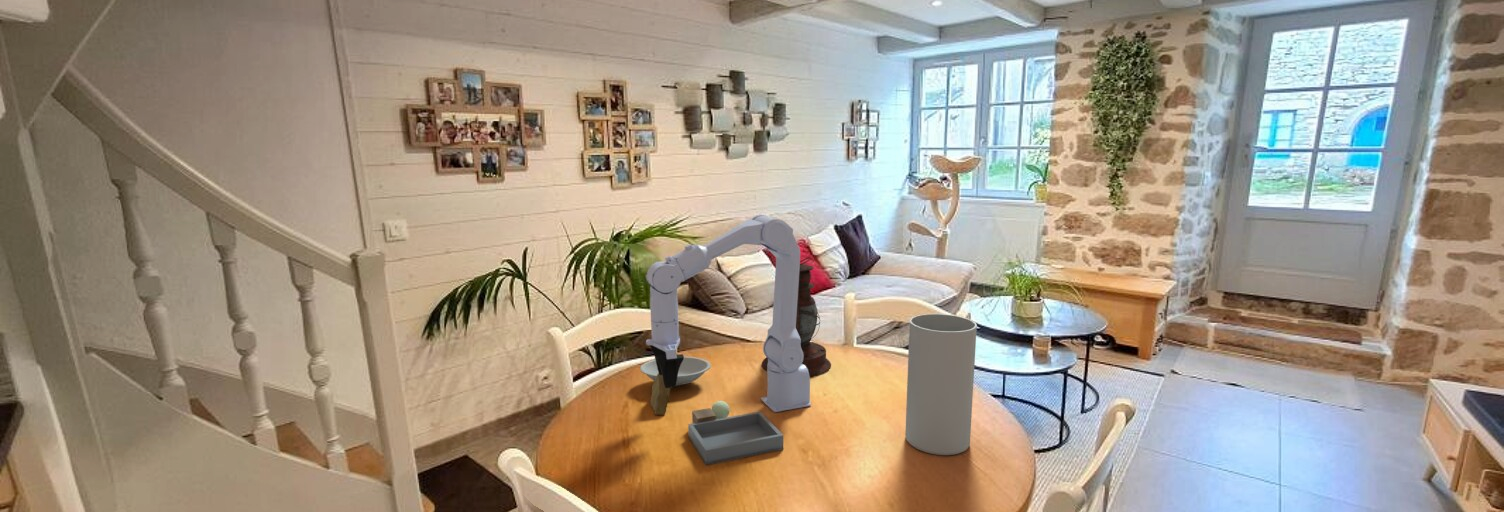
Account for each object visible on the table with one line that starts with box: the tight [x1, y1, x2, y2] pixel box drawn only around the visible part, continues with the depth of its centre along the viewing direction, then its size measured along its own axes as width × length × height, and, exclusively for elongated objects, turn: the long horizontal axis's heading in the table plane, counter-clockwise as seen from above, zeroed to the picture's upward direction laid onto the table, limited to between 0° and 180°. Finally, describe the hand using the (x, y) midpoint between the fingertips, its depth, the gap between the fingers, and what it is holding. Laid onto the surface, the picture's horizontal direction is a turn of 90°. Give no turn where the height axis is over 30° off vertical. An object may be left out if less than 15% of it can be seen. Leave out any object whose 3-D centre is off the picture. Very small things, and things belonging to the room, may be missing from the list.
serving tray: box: [687, 411, 784, 466], centre depth 124 cm, size 16×12×3 cm
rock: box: [649, 373, 672, 416], centre depth 142 cm, size 11×9×10 cm
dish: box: [639, 356, 712, 387], centre depth 155 cm, size 18×14×5 cm
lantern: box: [761, 256, 832, 378], centre depth 166 cm, size 19×19×30 cm
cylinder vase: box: [904, 313, 978, 456], centre depth 122 cm, size 12×12×25 cm
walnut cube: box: [691, 407, 716, 424], centre depth 130 cm, size 4×4×4 cm
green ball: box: [710, 400, 731, 419], centre depth 136 cm, size 4×4×4 cm
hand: (667, 380), depth 132 cm, fingers open, 7 cm apart
